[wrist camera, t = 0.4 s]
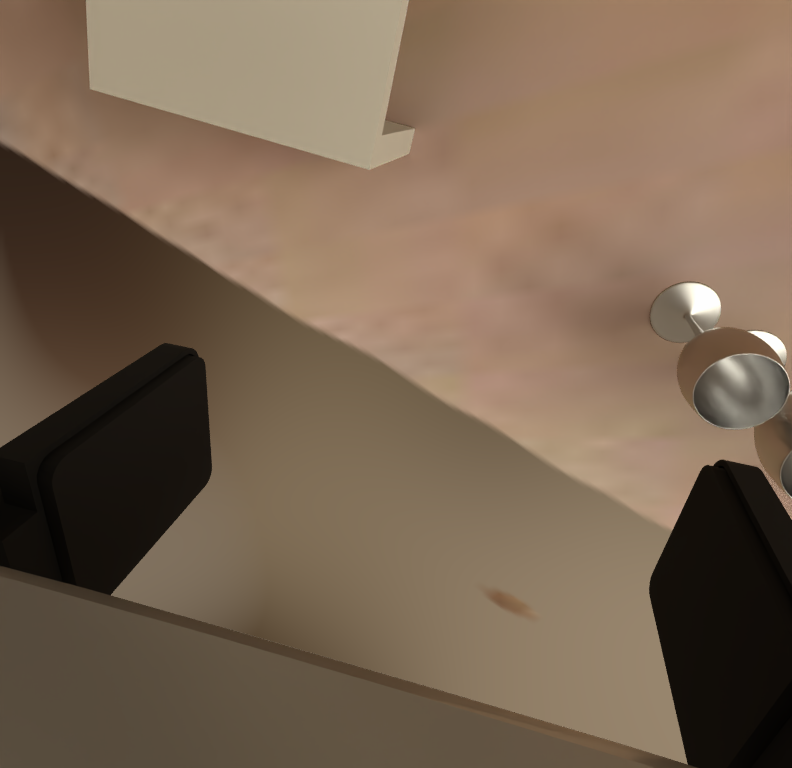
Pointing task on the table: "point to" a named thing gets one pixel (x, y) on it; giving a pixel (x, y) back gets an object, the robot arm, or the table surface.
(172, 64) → the keyhole shelf
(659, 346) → the table surface
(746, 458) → the table surface
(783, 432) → the goblet set
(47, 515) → the robot arm
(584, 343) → the table surface
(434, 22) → the table surface
